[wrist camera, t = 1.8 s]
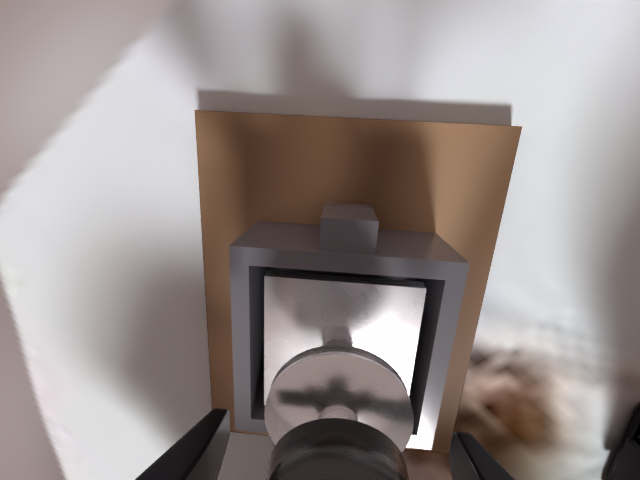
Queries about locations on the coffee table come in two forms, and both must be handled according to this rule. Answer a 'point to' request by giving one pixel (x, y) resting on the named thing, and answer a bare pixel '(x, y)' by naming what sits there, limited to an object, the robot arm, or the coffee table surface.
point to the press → (346, 260)
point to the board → (350, 188)
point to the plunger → (339, 374)
